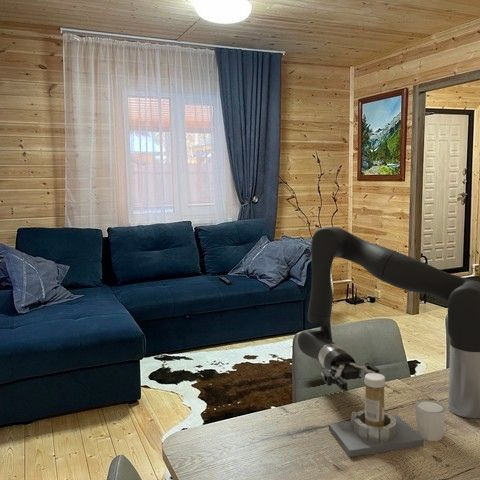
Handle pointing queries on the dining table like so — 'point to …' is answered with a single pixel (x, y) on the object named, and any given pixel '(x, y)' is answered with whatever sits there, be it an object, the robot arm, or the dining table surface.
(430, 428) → the white tapered cup
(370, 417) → the sprinkles bottle
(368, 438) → the stone block collar
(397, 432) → the socket plate
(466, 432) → the dining table surface
